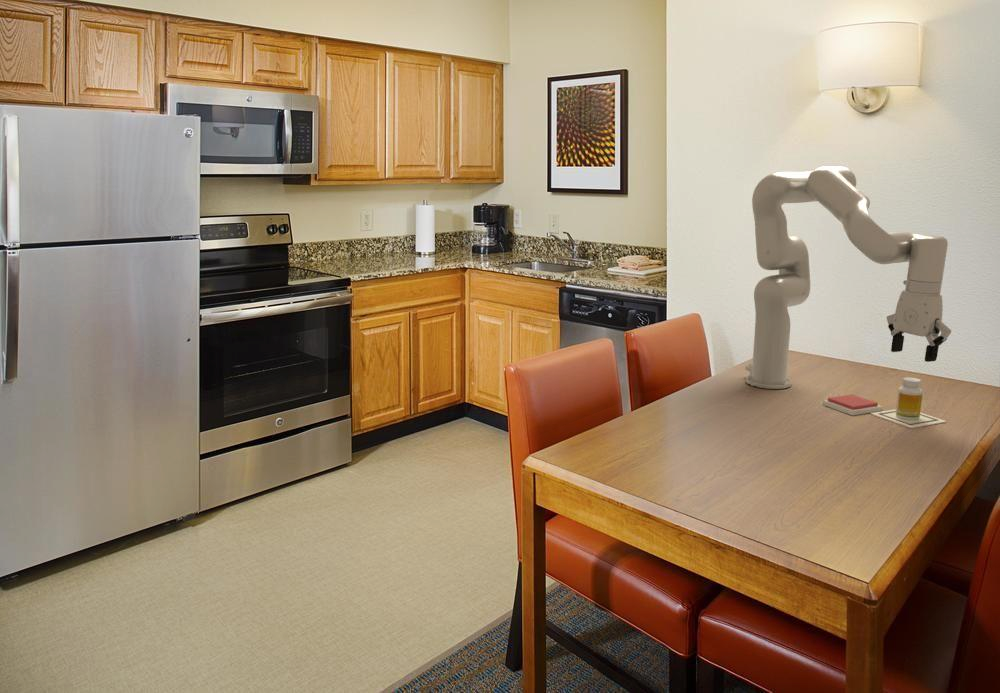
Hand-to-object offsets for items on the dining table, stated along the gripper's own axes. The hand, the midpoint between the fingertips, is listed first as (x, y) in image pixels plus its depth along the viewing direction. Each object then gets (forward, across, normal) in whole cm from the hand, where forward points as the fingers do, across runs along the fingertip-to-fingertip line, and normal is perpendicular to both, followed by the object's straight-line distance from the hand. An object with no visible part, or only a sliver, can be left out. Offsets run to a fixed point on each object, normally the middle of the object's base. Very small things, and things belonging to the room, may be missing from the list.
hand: (912, 356), depth 190 cm
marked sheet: (+16, +1, 0) cm, 16 cm away
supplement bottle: (+16, +1, 0) cm, 16 cm away
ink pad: (+16, -11, -6) cm, 20 cm away
